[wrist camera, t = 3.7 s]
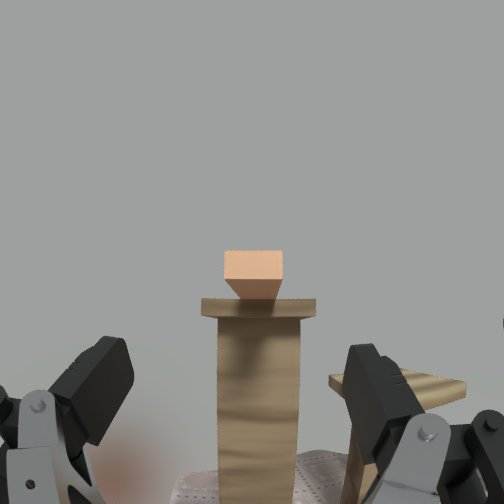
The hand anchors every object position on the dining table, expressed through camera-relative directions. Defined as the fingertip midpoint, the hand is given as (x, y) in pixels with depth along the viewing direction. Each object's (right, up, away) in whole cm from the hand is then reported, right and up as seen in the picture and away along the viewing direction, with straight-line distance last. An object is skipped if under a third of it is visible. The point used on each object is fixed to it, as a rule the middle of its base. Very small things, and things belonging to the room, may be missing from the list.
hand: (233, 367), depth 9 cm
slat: (+1, -1, +19) cm, 19 cm away
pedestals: (+8, -34, +10) cm, 37 cm away
